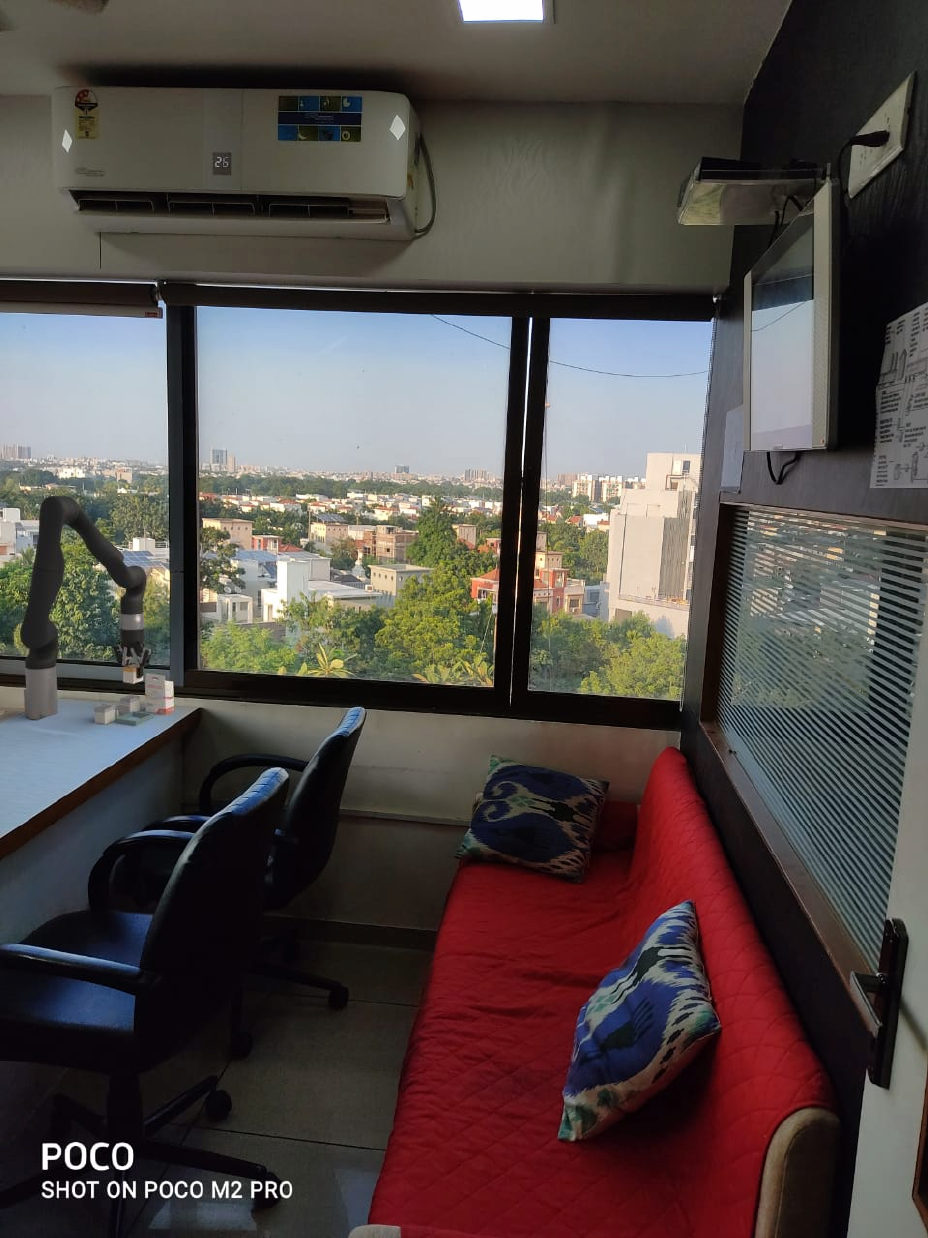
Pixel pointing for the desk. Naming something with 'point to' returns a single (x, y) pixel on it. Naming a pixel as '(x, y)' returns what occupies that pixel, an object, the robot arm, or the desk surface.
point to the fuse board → (108, 713)
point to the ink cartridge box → (158, 694)
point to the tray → (124, 720)
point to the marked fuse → (130, 674)
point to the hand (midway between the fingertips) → (133, 676)
